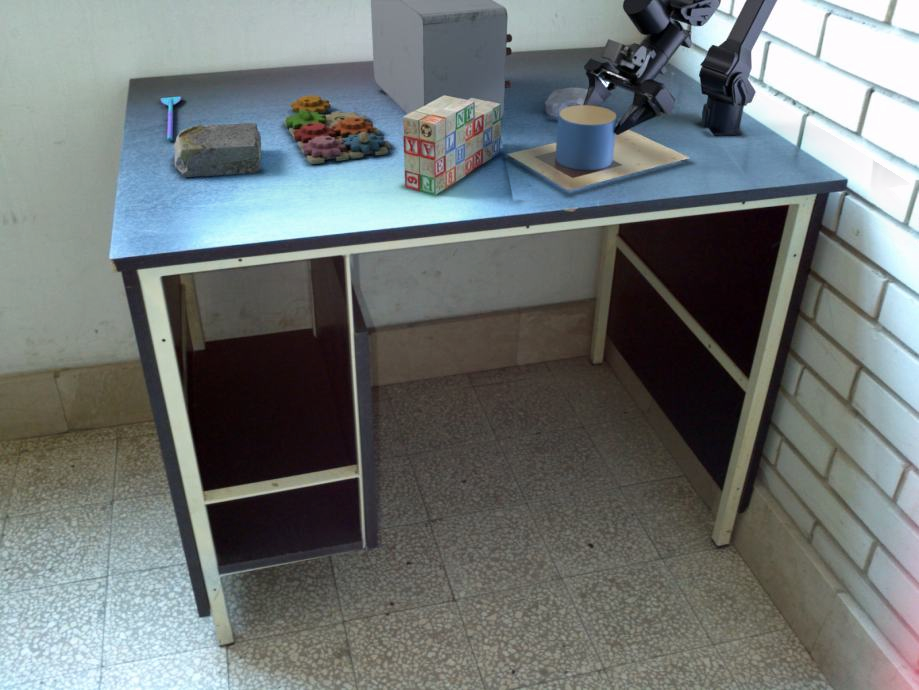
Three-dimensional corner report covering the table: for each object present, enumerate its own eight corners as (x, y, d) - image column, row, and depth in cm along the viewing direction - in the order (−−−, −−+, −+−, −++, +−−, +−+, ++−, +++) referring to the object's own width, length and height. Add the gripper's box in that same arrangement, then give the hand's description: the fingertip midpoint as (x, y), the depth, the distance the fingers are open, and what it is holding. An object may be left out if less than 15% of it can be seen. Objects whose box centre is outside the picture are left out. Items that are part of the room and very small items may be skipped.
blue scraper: (162, 98, 183) (161, 93, 182) (182, 97, 184) (181, 92, 183) (150, 143, 163) (149, 136, 162) (174, 141, 163) (172, 135, 163)
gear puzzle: (272, 109, 178) (270, 89, 176) (349, 100, 183) (348, 81, 181) (308, 166, 154) (306, 144, 152) (396, 154, 159) (395, 133, 157)
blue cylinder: (607, 148, 160) (612, 104, 156) (617, 170, 152) (622, 124, 147) (552, 148, 160) (555, 104, 155) (558, 170, 152) (562, 125, 147)
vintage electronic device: (512, 126, 172) (518, -9, 158) (424, 138, 166) (422, -2, 152) (453, 78, 196) (454, -43, 182) (374, 87, 191) (369, -37, 177)
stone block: (544, 129, 175) (595, 123, 173) (541, 105, 173) (592, 98, 170) (551, 111, 185) (599, 105, 183) (548, 88, 183) (597, 82, 180)
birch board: (622, 131, 170) (623, 126, 170) (689, 163, 157) (689, 157, 157) (506, 159, 158) (506, 153, 158) (568, 195, 146) (568, 189, 145)
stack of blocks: (471, 146, 163) (472, 80, 156) (500, 154, 160) (503, 86, 153) (404, 187, 148) (402, 115, 141) (435, 195, 145) (435, 123, 138)
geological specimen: (262, 144, 150) (169, 147, 146) (264, 177, 153) (174, 181, 149) (258, 120, 158) (170, 122, 154) (260, 153, 161) (174, 155, 158)
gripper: (597, 9, 153) (541, 82, 155) (672, 34, 140) (611, 114, 141) (626, 49, 161) (573, 119, 162) (700, 77, 148) (642, 152, 149)
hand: (598, 125), depth 154 cm, fingers open, 9 cm apart
